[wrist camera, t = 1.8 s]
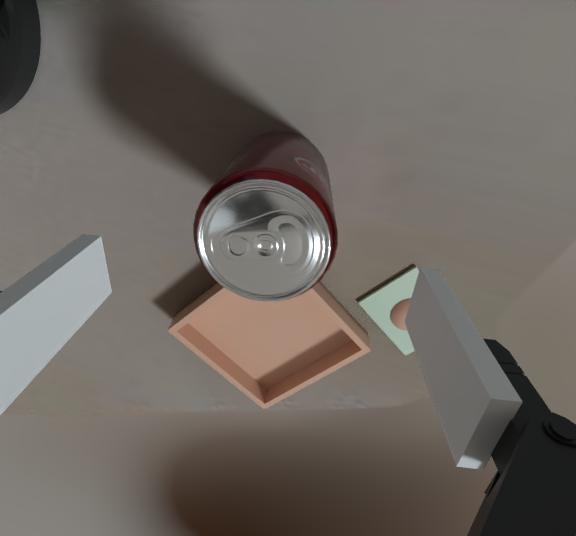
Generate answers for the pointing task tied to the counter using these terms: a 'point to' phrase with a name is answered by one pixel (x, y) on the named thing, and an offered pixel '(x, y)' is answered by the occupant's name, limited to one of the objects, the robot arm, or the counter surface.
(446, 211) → the counter surface
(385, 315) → the tile
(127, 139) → the counter surface
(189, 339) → the peach shallow tray
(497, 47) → the counter surface
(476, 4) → the counter surface
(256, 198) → the soda can
